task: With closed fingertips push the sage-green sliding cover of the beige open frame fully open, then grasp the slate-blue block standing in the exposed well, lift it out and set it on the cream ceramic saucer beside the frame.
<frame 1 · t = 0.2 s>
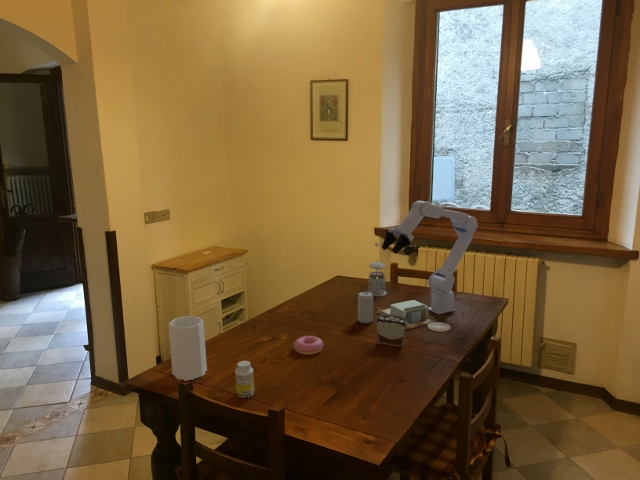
hand: (388, 250, 209), 31 cm above the table, tool tilted 45°, fingers open, 7 cm apart
beverage can: (365, 321, 217), on the table
food container: (392, 342, 196), on the table
doughnut: (308, 350, 191), on the table
beige open frame: (405, 317, 220), on the table
supplement bottle: (245, 394, 160), on the table
sliding cover: (408, 309, 218), point 4 cm above the table, slide at 3.0 cm
cream saucer: (438, 327, 209), on the table
cup: (190, 374, 174), on the table
french press: (376, 292, 254), on the table
slate-blue block: (412, 321, 216), resting in beige open frame
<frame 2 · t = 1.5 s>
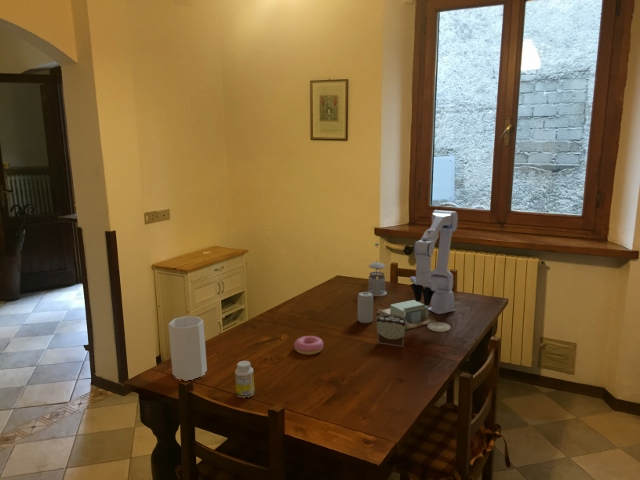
hand: (422, 303, 209), 10 cm above the table, tool pointing down, fingers open, 5 cm apart
nothing on the table moved.
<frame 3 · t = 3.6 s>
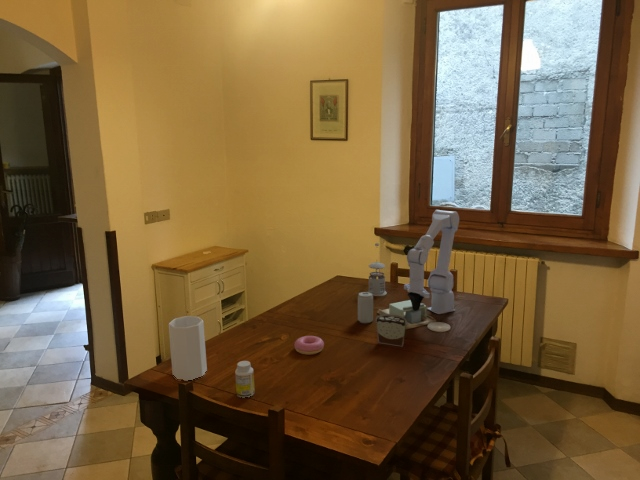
hand: (415, 310, 213), 6 cm above the table, tool pointing down, fingers closed
sliding cover: (407, 309, 218), point 4 cm above the table, slide at 3.8 cm, touching gripper
everything else where it was.
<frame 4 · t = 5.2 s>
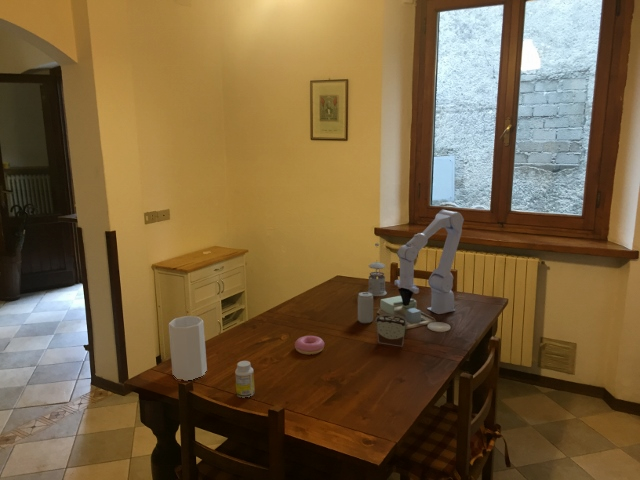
hand: (406, 305, 219), 6 cm above the table, tool pointing down, fingers closed
sliding cover: (398, 304, 224), point 4 cm above the table, slide at 10.5 cm, touching gripper
everything else where it was.
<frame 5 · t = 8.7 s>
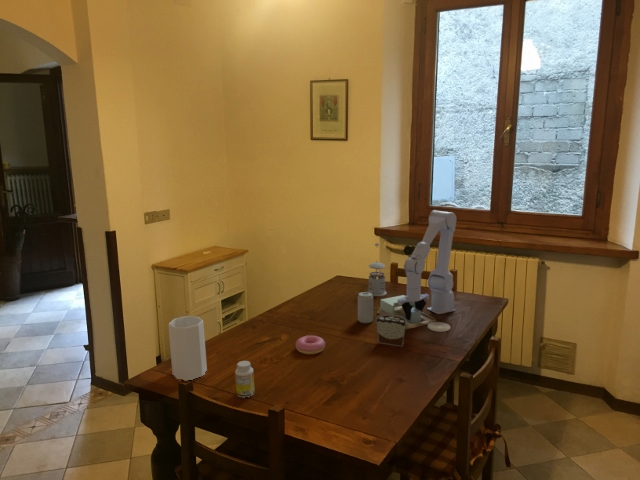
hand: (413, 318, 216), 1 cm above the table, tool pointing down, fingers closed on slate-blue block, 4 cm apart
sliding cover: (398, 304, 224), point 4 cm above the table, slide at 10.5 cm
slate-blue block: (412, 321, 216), resting in beige open frame, touching gripper
everything else where it was.
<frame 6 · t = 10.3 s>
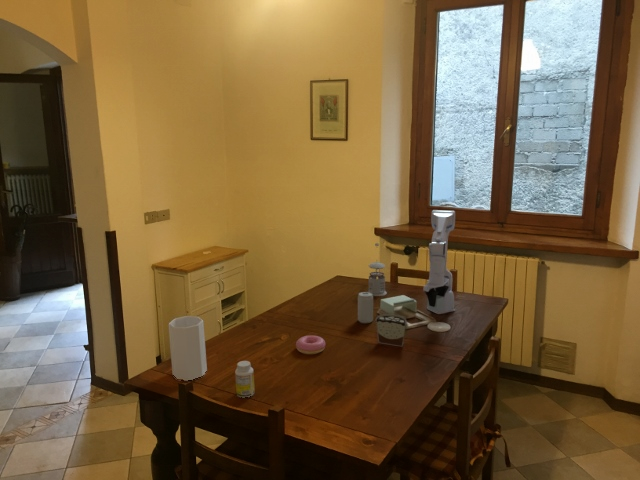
hand: (435, 304, 208), 9 cm above the table, tool pointing down, fingers closed on slate-blue block, 4 cm apart
slate-blue block: (435, 308, 208), point 8 cm above the table, touching gripper
everything else where it was.
when the fingers open (4 cm above the table, at t = 12.0 s): slate-blue block drops 1 cm, resting on cream saucer.
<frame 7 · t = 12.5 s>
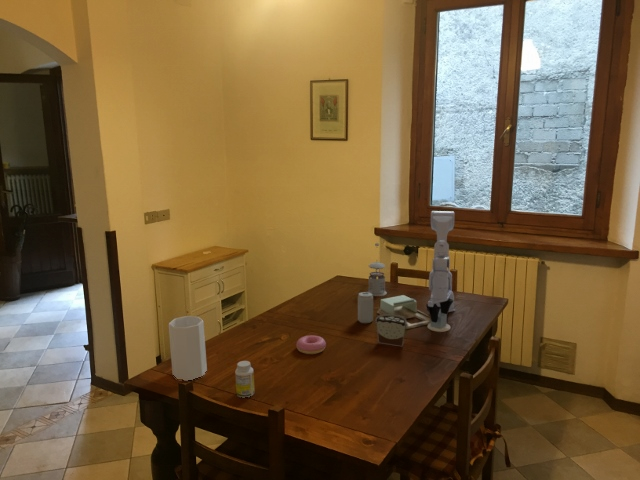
hand: (439, 319, 208), 4 cm above the table, tool pointing down, fingers open, 7 cm apart
slate-blue block: (438, 326, 209), point 1 cm above the table, touching cream saucer
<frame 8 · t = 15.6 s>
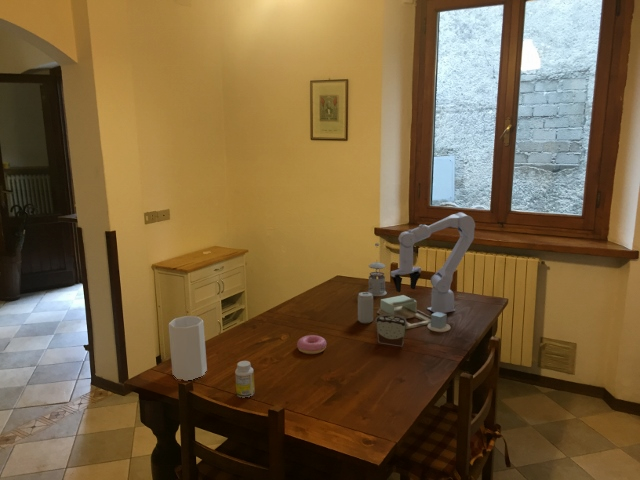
hand: (405, 290, 225), 10 cm above the table, tool pointing down, fingers open, 7 cm apart
at the end: sliding cover slide at 10.5 cm; slate-blue block inside the target area on the cream saucer (0.2 cm from its centre), point 0.6 cm above the cream saucer's base; the gripper is holding nothing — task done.
